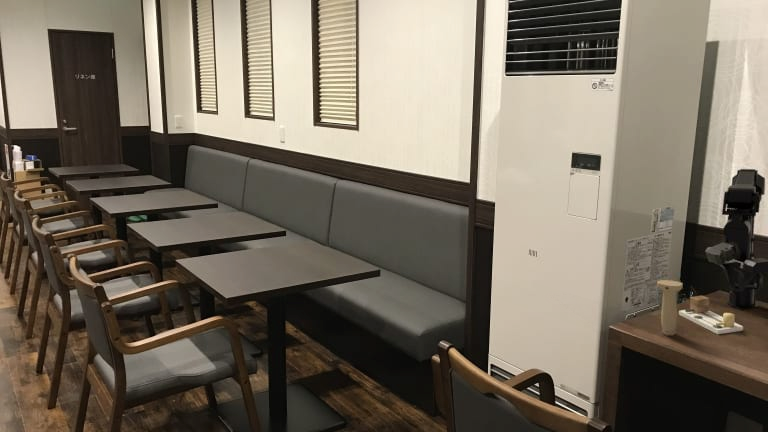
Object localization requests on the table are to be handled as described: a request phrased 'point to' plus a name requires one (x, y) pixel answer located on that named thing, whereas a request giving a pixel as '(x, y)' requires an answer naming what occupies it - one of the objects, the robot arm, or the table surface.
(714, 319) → the bolt plate
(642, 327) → the table surface
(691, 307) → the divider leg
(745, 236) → the robot arm
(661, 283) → the handle
